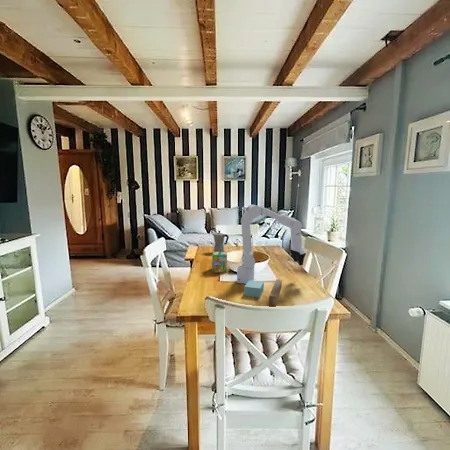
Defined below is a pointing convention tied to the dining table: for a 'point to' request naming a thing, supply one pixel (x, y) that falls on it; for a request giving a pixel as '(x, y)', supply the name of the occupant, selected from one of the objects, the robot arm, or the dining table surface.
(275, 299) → the board
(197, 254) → the dining table surface
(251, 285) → the block
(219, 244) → the coffeepot
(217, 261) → the chalk box
